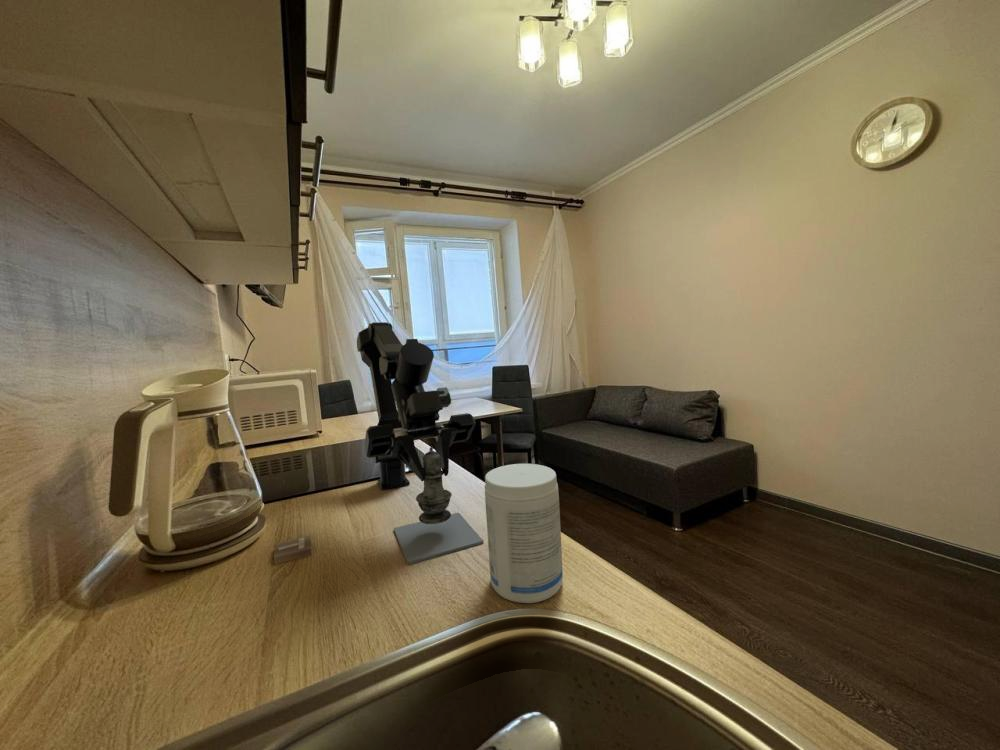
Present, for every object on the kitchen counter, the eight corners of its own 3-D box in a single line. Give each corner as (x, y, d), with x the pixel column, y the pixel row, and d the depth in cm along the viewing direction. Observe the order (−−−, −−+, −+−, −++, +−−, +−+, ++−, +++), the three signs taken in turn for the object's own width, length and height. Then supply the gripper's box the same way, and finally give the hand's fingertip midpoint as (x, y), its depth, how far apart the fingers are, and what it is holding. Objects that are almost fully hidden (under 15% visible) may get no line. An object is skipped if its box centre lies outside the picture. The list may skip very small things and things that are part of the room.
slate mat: (393, 530, 65) (393, 528, 65) (458, 514, 71) (458, 512, 70) (408, 564, 55) (407, 562, 55) (483, 543, 60) (483, 540, 60)
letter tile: (276, 552, 61) (276, 542, 61) (311, 543, 63) (310, 534, 63) (274, 567, 56) (273, 557, 56) (311, 557, 59) (310, 547, 59)
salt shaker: (448, 525, 59) (444, 451, 58) (412, 524, 60) (407, 451, 59) (456, 509, 65) (452, 441, 64) (423, 508, 66) (419, 442, 65)
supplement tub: (574, 573, 51) (570, 468, 50) (543, 618, 43) (538, 492, 42) (512, 555, 56) (508, 459, 55) (475, 591, 48) (469, 479, 47)
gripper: (362, 377, 59) (382, 463, 51) (469, 369, 69) (501, 441, 60) (358, 418, 67) (374, 499, 58) (454, 406, 76) (481, 474, 67)
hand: (435, 477), depth 61 cm, fingers closed on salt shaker, 4 cm apart
